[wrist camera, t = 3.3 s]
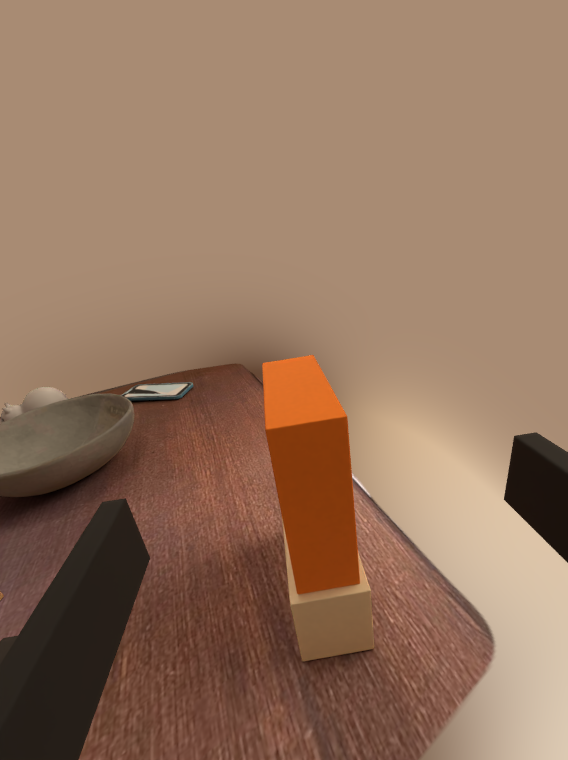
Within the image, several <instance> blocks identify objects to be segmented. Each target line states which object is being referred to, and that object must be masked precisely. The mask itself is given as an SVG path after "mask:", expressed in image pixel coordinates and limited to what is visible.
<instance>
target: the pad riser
mask: <svg viewBox="0 0 568 760" xmlns="http://www.w3.org/2000/svg"><path fill="white" fill-rule="evenodd" d="M282 523H283V519H282ZM283 533H284V544H285V555H286V566H287V576H288V587H289V598H290V606H291V611H292V616H293V621H294V625H295V630H296V635H297V640H298V644H299V649H300V654H301V659H302V661H303V662H304V661H309V660H315V659H320V658H326V657H331V656H337V655H342V654H348V653H353V652H359V651H364V650H370V649H374V636H373V619H372V603H371V589H370V587H369V584H368V581H367V578H366V575H365V572H364V569H363V566H362V563H361V560H360V557H359V554H358V561H359V574H360V584H355V585H349V586H344V587H338V588H332V589H327V590H321V591H315V592H310V593H304V594H297V591H296V586H295V581H294V575H293V570H292V565H291V560H290V555H289V550H288V544H287V539H286V534H285V529H284V524H283Z"/></svg>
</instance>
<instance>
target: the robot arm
mask: <svg viewBox="0 0 568 760" xmlns="http://www.w3.org/2000/svg"><path fill="white" fill-rule="evenodd" d="M504 500H505V501H506V502H507V503H508V504H509V505H510V506H511V507H512V508H513V509H514V510H515V511H516V512H517V513H518V514H519V515H520V516H521V517H522V518H523V519H524V520H525V521H526V522H527V523H528V524H529V525H530V526H531V527H532V528H533V529H534V530H535V531H536V532H537V533H538V534H539V535H540V536H541V537H543V539H544V540H545V541H546V542H547V543H548V544H549V545H551V547H552V548H553V549H555V550H556V552H558V554H559V555H561V556H562V557H563V558H564V559H565V560H566V561H567V562H568V452H566V451H565V450H563V449H562V448H560V447H558V446H557V445H555V444H554V443H552V442H551V441H549V440H547V439H546V438H544V437H542V436H541V435H540V434H538V433H530V434H524V435H517V436H514V442H513V447H512V453H511V459H510V466H509V472H508V478H507V484H506V490H505V496H504ZM149 560H150V556H149V554H148V552H147V549H146V547H145V544H144V542H143V539H142V537H141V535H140V532H139V530H138V527H137V525H136V522H135V520H134V518H133V515H132V513H131V510H130V508H129V505H128V503H127V501H126V498H125V499H119V500H113V501H107V502H102V503H101V505H100V507H99V508H98V510H97V511H96V513H95V515H94V516H93V518H92V519H91V521H90V523H89V524H88V526H87V527H86V529H85V530H84V532H83V534H82V535H81V537H80V538H79V540H78V542H77V543H76V545H75V546H74V548H73V550H72V551H71V553H70V554H69V556H68V557H67V559H66V561H65V562H64V564H63V565H62V567H61V569H60V570H59V572H58V573H57V575H56V577H55V578H54V580H53V581H52V583H51V584H50V586H49V588H48V589H47V591H46V592H45V594H44V596H43V597H42V599H41V600H40V602H39V604H38V605H37V607H36V608H35V610H34V611H33V613H32V615H31V616H30V618H29V619H28V621H27V623H26V624H25V626H24V627H23V629H22V631H21V632H20V634H19V635H18V636H14V637H8V638H3V639H2V640H1V641H0V760H78V759H79V756H80V754H81V751H82V748H83V745H84V742H85V740H86V737H87V734H88V731H89V728H90V726H91V723H92V720H93V717H94V714H95V711H96V709H97V706H98V703H99V700H100V697H101V695H102V692H103V689H104V686H105V683H106V681H107V678H108V675H109V672H110V669H111V666H112V664H113V661H114V658H115V655H116V652H117V650H118V647H119V644H120V641H121V638H122V636H123V633H124V630H125V627H126V624H127V622H128V619H129V616H130V613H131V610H132V607H133V605H134V602H135V599H136V596H137V593H138V591H139V588H140V585H141V582H142V579H143V577H144V574H145V571H146V568H147V565H148V562H149Z"/></svg>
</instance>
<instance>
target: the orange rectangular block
mask: <svg viewBox="0 0 568 760" xmlns="http://www.w3.org/2000/svg"><path fill="white" fill-rule="evenodd" d="M262 365H263V387H264V410H265V431H266V436H267V441H268V446H269V451H270V456H271V462H272V467H273V472H274V477H275V482H276V488H277V493H278V498H279V503H280V508H281V513H282V519H283V524H284V529H285V534H286V539H287V544H288V550H289V555H290V560H291V565H292V570H293V575H294V581H295V586H296V591H297V594H304V593H310V592H315V591H321V590H327V589H332V588H338V587H344V586H349V585H355V584H360V574H359V561H358V548H357V535H356V523H355V510H354V497H353V484H352V471H351V458H350V446H349V433H348V421H347V415H346V414H345V412H344V410H343V408H342V406H341V404H340V403H339V401H338V399H337V397H336V395H335V394H334V392H333V390H332V388H331V386H330V385H329V383H328V381H327V379H326V377H325V376H324V374H323V372H322V370H321V368H320V366H319V365H318V363H317V361H316V359H315V357H314V356H313V355H310V356H304V357H298V358H292V359H285V360H279V361H273V362H267V363H263V364H262Z"/></svg>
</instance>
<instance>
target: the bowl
mask: <svg viewBox="0 0 568 760" xmlns="http://www.w3.org/2000/svg"><path fill="white" fill-rule="evenodd" d="M133 423H134V408H133V404H132V403H131V401H130V400H129V399H127V398H126V397H123V396H121V395H116V394H92V395H86V396H81V397H76V398H71V399H66V400H62V401H58V402H55V403H52V404H48V405H45V406H42V407H39V408H36V409H34V410H31V411H28V412H26V413H24V414H21V415H19V416H17V417H14V418H12V419H10V420H8V421H5V422H3V423H1V424H0V496H4V497H28V496H35V495H41V494H45V493H49V492H52V491H56V490H58V489H61V488H64V487H66V486H69V485H71V484H73V483H75V482H77V481H79V480H81V479H83V478H84V477H86V476H88V475H90V474H91V473H93V472H95V471H96V470H98V469H99V468H100V467H102V466H103V465H104V464H106V463H107V462H108V461H109V460H111V459H112V458H113V457H114V456H115V455H116V454H117V453H118V452H119V451H120V450H121V448H122V447H123V446H124V444H125V442H126V440H127V438H128V436H129V434H130V432H131V430H132V426H133Z"/></svg>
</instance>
